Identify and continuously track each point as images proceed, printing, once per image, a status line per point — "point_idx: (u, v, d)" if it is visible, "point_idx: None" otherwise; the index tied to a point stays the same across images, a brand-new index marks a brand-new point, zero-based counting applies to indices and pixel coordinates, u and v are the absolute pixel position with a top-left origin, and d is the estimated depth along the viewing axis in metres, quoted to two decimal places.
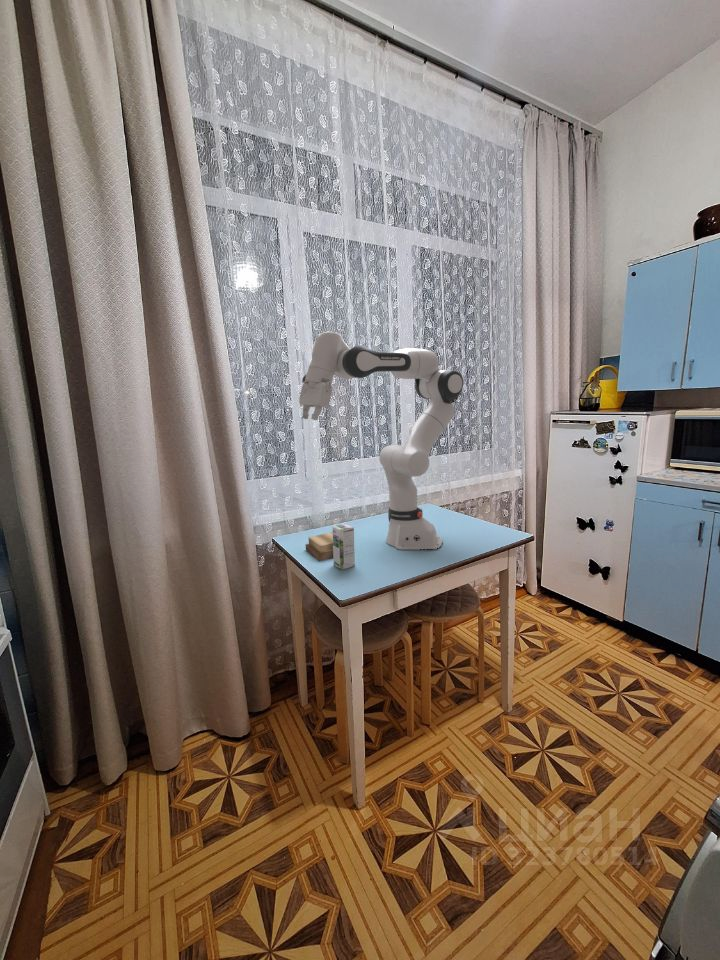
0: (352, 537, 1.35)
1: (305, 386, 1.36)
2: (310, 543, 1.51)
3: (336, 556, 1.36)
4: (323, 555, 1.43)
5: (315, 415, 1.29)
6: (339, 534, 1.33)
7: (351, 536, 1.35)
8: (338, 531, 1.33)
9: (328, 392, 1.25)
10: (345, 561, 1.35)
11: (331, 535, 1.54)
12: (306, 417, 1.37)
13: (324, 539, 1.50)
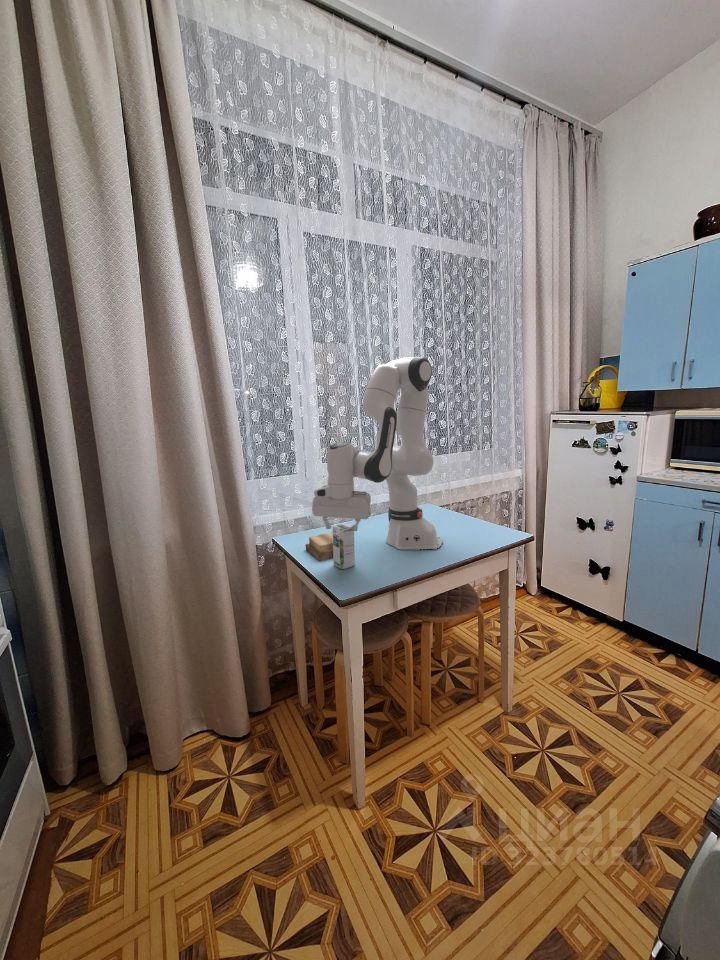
0: (352, 537, 1.35)
1: (324, 499, 1.32)
2: (310, 543, 1.52)
3: (336, 556, 1.36)
4: (323, 555, 1.43)
5: (356, 526, 1.34)
6: (339, 533, 1.33)
7: (351, 536, 1.35)
8: (338, 530, 1.33)
9: (369, 504, 1.32)
10: (345, 561, 1.35)
11: (332, 535, 1.54)
12: (330, 526, 1.37)
13: (324, 539, 1.50)
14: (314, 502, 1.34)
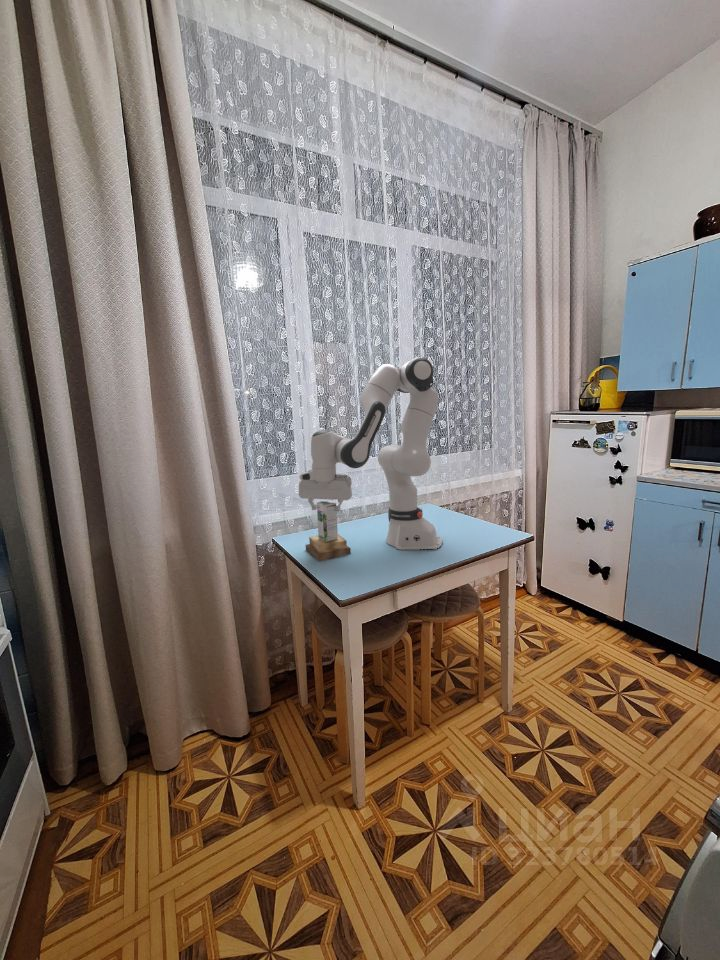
0: (335, 512, 1.47)
1: (309, 483, 1.45)
2: (310, 543, 1.52)
3: (320, 530, 1.48)
4: (323, 555, 1.43)
5: (339, 507, 1.46)
6: (322, 509, 1.45)
7: (334, 511, 1.47)
8: (322, 506, 1.45)
9: (350, 486, 1.44)
10: (329, 534, 1.47)
11: None
12: (316, 508, 1.49)
13: None
14: (300, 485, 1.46)
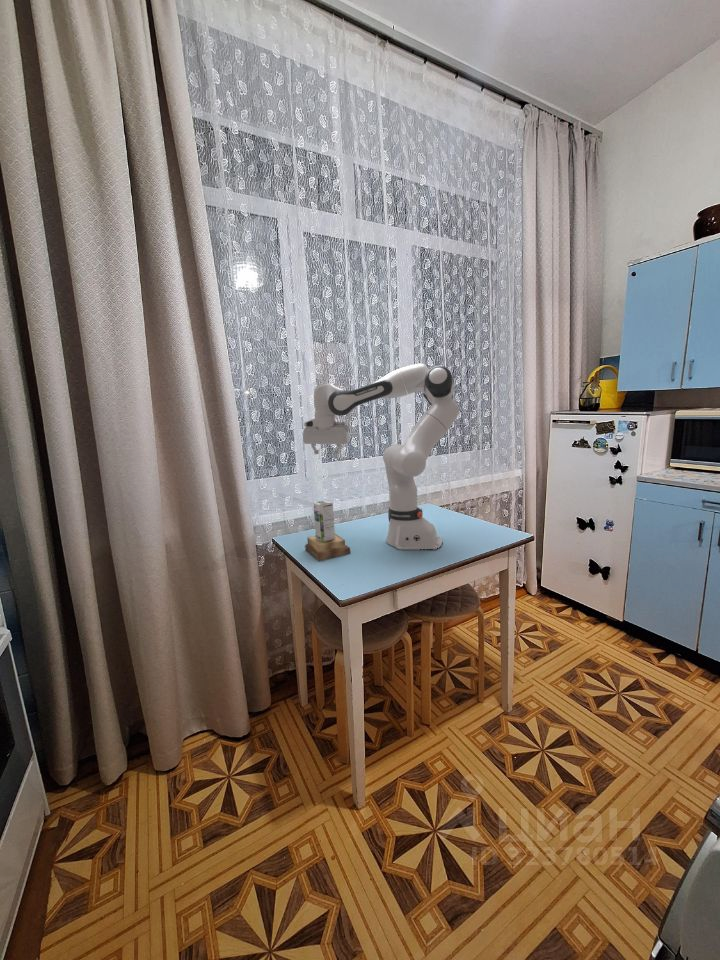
0: (331, 512, 1.47)
1: (312, 429, 1.68)
2: (309, 543, 1.52)
3: (318, 530, 1.48)
4: (322, 555, 1.43)
5: (338, 450, 1.69)
6: (319, 509, 1.44)
7: (331, 511, 1.47)
8: (318, 506, 1.45)
9: (347, 432, 1.67)
10: (326, 534, 1.47)
11: None
12: (318, 452, 1.72)
13: None
14: (304, 432, 1.69)
